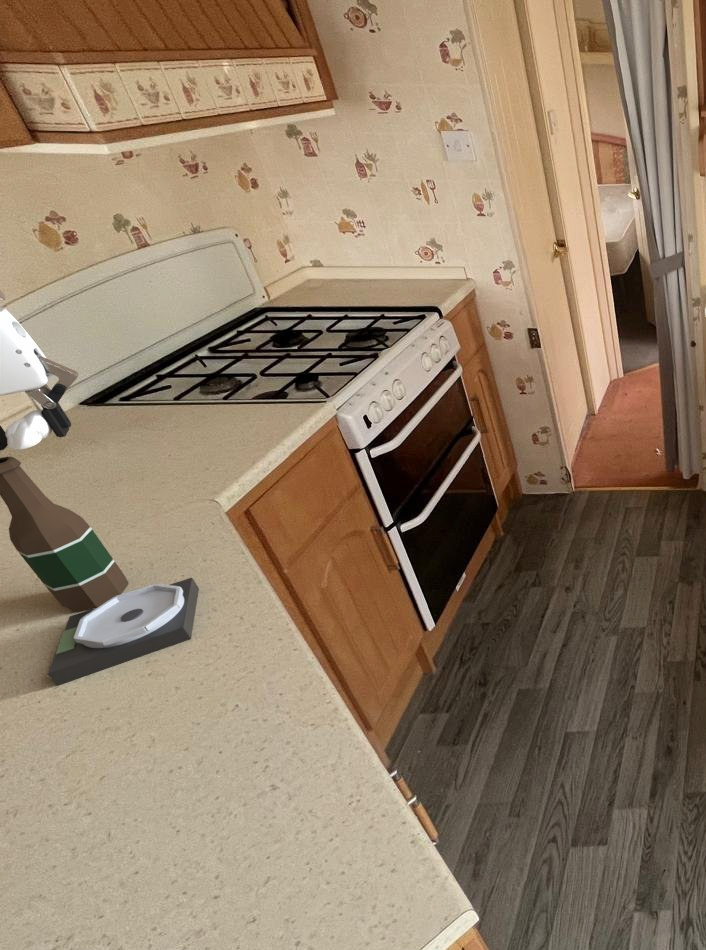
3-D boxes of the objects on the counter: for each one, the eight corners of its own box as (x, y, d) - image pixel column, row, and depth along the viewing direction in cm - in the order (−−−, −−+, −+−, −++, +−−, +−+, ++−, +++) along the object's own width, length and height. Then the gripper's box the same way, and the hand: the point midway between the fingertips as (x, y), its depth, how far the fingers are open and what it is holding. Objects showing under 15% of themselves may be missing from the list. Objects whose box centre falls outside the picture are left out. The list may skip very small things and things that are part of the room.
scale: (57, 685, 88) (40, 666, 86) (78, 627, 97) (63, 608, 95) (191, 638, 94) (178, 619, 92) (199, 588, 104) (187, 570, 102)
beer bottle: (129, 572, 108) (38, 441, 95) (131, 595, 103) (34, 461, 90) (63, 595, 103) (-42, 461, 91) (62, 621, 98) (-50, 483, 86)
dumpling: (66, 443, 90) (41, 421, 87) (17, 463, 87) (-11, 441, 85) (63, 418, 94) (39, 396, 91) (16, 436, 91) (-10, 414, 88)
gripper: (48, 287, 87) (122, 412, 97) (-150, 314, 79) (-48, 448, 88) (34, 300, 82) (114, 431, 91) (-179, 330, 74) (-68, 471, 83)
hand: (33, 438), depth 90 cm, fingers closed on dumpling, 5 cm apart
